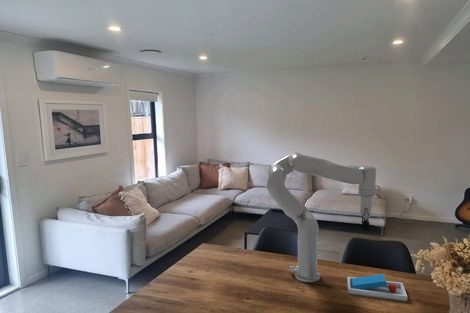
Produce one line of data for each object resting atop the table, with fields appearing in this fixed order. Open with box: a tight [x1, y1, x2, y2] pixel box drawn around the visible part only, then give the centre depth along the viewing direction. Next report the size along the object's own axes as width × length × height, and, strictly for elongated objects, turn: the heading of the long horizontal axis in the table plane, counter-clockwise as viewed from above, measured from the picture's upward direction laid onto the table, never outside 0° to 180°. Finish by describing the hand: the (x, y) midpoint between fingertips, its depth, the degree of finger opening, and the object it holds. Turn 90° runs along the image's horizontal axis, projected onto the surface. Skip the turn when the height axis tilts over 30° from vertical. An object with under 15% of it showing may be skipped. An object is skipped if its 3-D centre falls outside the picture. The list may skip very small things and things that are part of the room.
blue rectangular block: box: [352, 273, 397, 292], centre depth 151 cm, size 7×7×18 cm
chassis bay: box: [347, 276, 408, 303], centre depth 151 cm, size 24×12×2 cm, turn 73°
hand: (365, 226), depth 161 cm, fingers open, 9 cm apart
